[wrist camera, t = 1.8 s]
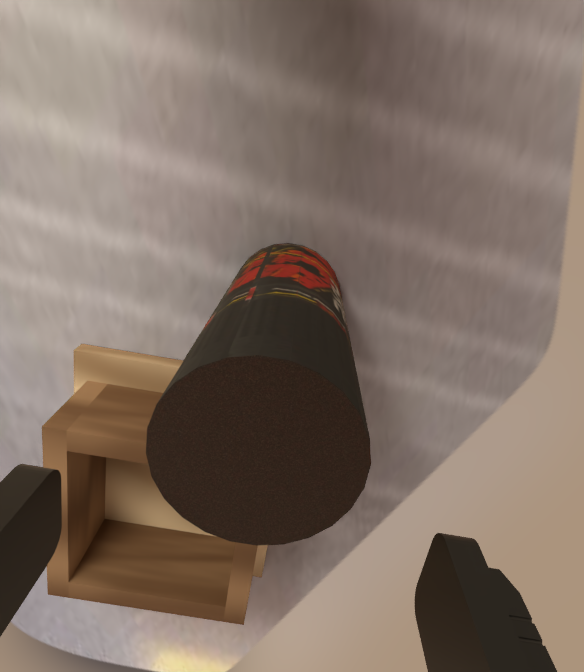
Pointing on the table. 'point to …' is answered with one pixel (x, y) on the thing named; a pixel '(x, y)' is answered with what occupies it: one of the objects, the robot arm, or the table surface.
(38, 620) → the table surface
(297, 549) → the table surface
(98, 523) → the holder
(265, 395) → the deodorant
